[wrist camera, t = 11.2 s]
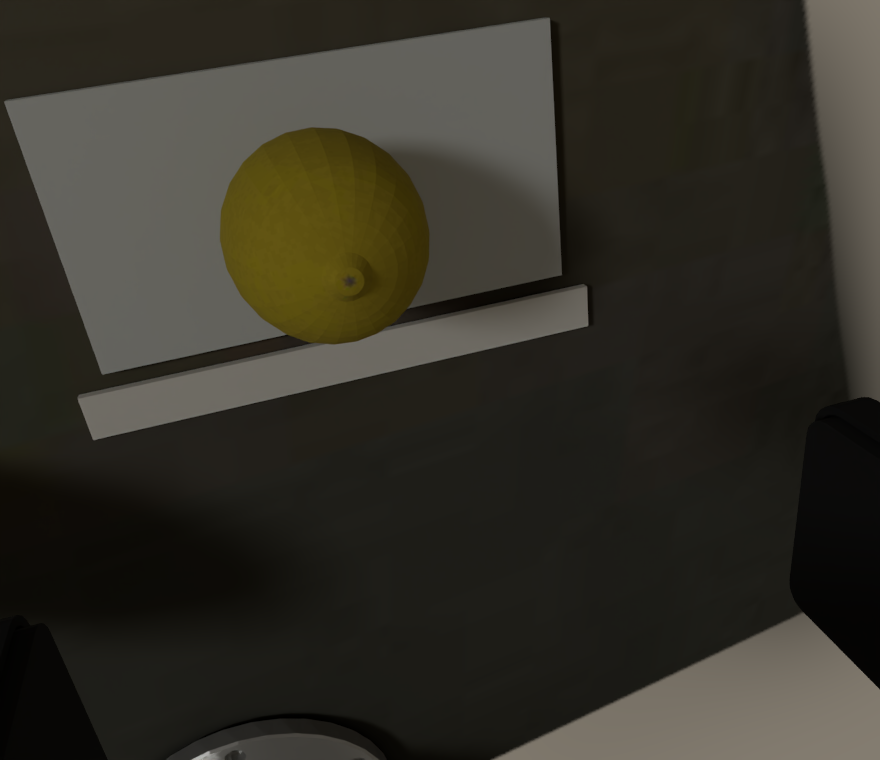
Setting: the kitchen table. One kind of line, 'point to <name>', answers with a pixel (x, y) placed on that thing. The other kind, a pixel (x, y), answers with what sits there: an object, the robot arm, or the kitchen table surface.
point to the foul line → (330, 362)
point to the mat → (264, 118)
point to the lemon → (324, 235)
